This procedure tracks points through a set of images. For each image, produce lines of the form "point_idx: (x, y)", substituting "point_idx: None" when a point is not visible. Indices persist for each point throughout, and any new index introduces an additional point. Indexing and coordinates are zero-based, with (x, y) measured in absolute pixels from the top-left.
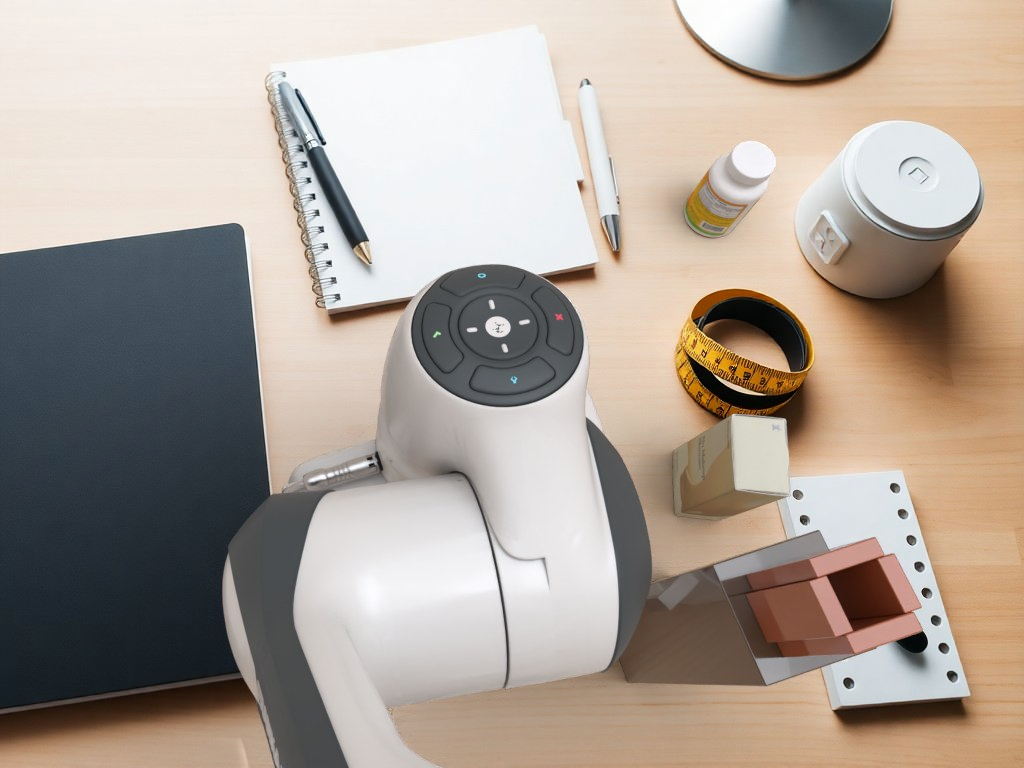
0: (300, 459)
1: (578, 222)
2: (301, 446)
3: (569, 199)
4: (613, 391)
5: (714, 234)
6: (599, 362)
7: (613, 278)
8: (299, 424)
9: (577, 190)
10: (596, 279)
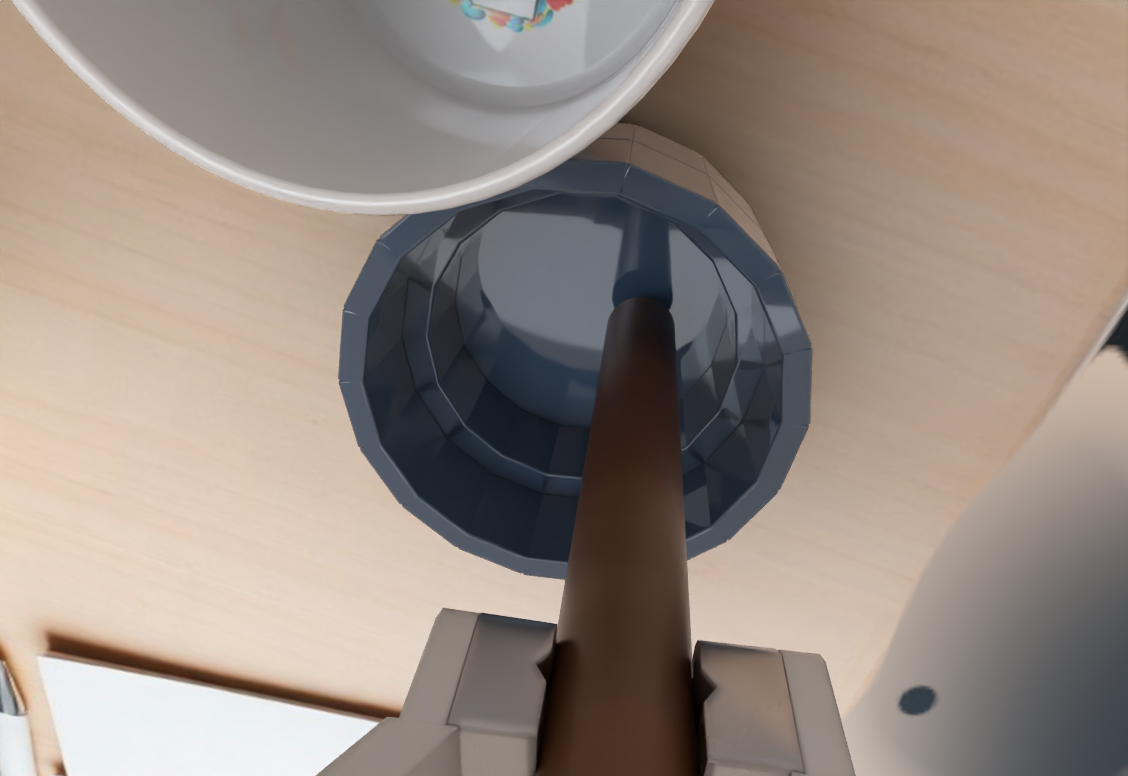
0: (863, 557)
1: (72, 724)
2: (843, 581)
3: (85, 760)
4: (25, 415)
5: None
6: (54, 485)
7: (7, 619)
8: (818, 622)
9: (67, 766)
10: (45, 630)
